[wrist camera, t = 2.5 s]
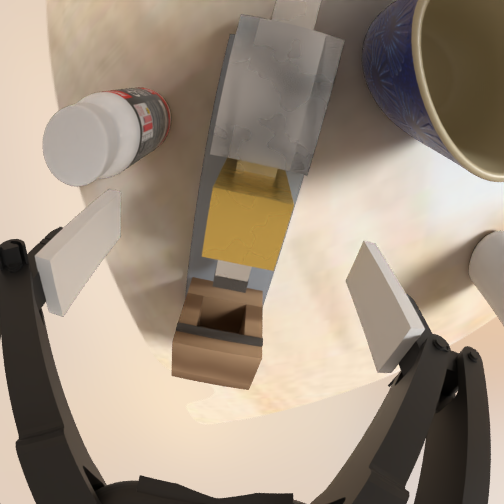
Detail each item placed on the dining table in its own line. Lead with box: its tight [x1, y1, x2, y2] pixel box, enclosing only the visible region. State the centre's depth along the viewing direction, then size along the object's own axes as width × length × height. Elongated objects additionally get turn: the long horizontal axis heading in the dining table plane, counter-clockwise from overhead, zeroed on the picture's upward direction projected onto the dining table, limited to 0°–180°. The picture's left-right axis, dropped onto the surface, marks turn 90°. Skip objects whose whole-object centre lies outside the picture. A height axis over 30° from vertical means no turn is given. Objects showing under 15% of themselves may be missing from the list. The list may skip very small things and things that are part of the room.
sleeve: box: [210, 14, 345, 176], centre depth 17 cm, size 8×5×8 cm
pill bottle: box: [43, 88, 171, 187], centre depth 17 cm, size 6×6×10 cm
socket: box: [172, 277, 263, 390], centre depth 27 cm, size 5×7×9 cm
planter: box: [362, 0, 504, 182], centre depth 13 cm, size 12×12×11 cm
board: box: [185, 34, 304, 304], centre depth 25 cm, size 27×8×1 cm, turn 168°
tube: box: [202, 0, 321, 293], centre depth 16 cm, size 22×4×8 cm, turn 168°
